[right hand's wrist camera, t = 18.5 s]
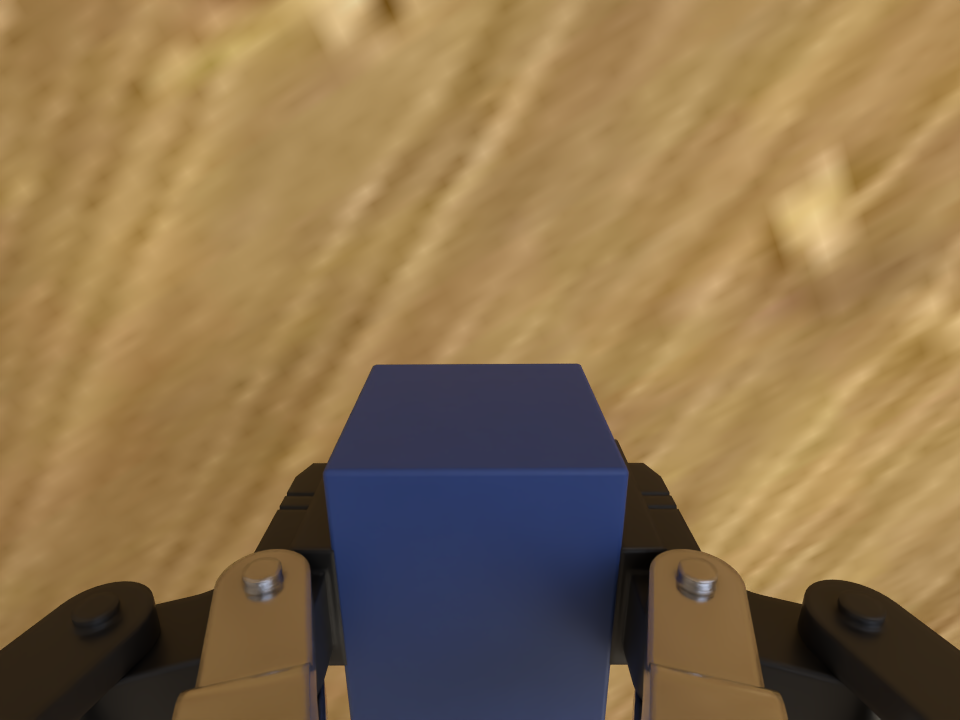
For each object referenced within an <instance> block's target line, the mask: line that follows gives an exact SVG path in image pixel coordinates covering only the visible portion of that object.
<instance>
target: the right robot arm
mask: <svg viewBox="0 0 960 720" xmlns="http://www.w3.org/2000/svg"><path fill="white" fill-rule="evenodd" d="M614 440H615V442H616V445H617V447H618V449H619V451H620V453H621V456H622V458H623V460H624V462H625V465H626V467H627V469H628V472H629V476H628V486H627V496H626V507H625V517H624V527H623V537H622V547H621V552H620V562H619V572H618V582H617V592H616V601H615V611H614V621H613V631H612V641H611V651H610V661H609V665H628V667H629V671H630V674H631V678H632V682H633V685H634V688H635V690H634V698H633V715H632V720H960V650H958V649H957V648H956V647H954V646H953V645H952V644H950V643H949V642H948V641H946V640H945V639H944V638H942V637H941V636H940V635H938V634H937V633H936V632H934V631H933V630H932V629H930V628H929V627H928V626H926V625H925V624H924V623H922V622H921V621H920V620H918V619H917V618H916V617H914V616H913V615H912V614H910V613H909V612H908V611H906V610H905V609H904V608H902V607H901V606H900V605H898V604H897V603H896V602H894V601H893V600H891V599H890V598H888V597H887V596H885V595H883V594H881V593H879V592H877V591H875V590H873V589H871V588H868V587H866V586H863V585H860V584H856V583H853V582H848V581H843V580H823V581H818V582H816V583H813V584H812V585H810V586H809V587H808V588H807V590H806V592H805V595H804V599H803V603H802V604H799V603H794V602H790V601H785V600H781V599H777V598H772V597H768V596H763V595H760V594H756V593H753V592H750V591H747V590H746V587H745V584H744V581H743V580H742V578H741V576H740V575H739V574H738V573H737V571H736V570H734V569H733V568H732V567H731V566H730V565H728V564H727V563H726V562H724V561H722V560H721V559H719V558H717V557H715V556H712V555H710V554H707V553H704V552H701V550H700V548H699V546H698V545H697V543H696V541H695V539H694V537H693V535H692V533H691V532H690V530H689V528H688V526H687V524H686V522H685V520H684V519H683V517H682V515H681V513H680V511H679V509H677V506H676V504H675V502H674V500H673V498H672V496H670V495H669V491H668V489H667V487H666V485H665V483H664V482H663V480H662V478H661V476H659V475H658V474H657V473H656V472H654V471H653V470H652V469H650V468H649V467H648V466H647V465H645V464H644V463H628V462H627V460H626V458H625V456H624V454H623V451H622V449H621V447H620V445H619V443H618V441H617V440H616V439H614ZM326 465H327V463H313V464H312V465H311V466H309V467H308V468H307V469H306V470H304V471H303V472H302V473H300V474H299V475H298V476H297V477H296V478H295V479H294V481H293V483H292V485H291V487H290V488H289V490H288V492H287V496H285V498H284V499H283V501H282V503H281V505H280V509H279V510H277V512H276V514H275V516H274V518H273V519H272V521H271V523H270V525H269V527H268V529H267V530H266V532H265V534H264V536H263V538H262V540H261V541H260V543H259V545H258V547H257V549H256V551H255V552H254V553H253V554H250V555H248V556H245V557H243V558H241V559H239V560H238V561H236V562H234V563H233V564H232V565H230V566H229V567H228V568H227V569H226V570H224V571H223V573H222V574H221V575H220V576H219V578H218V580H217V581H216V584H215V587H214V589H213V590H211V591H208V592H205V593H202V594H199V595H195V596H191V597H187V598H183V599H178V600H174V601H169V602H165V603H161V604H156V605H155V601H154V597H153V594H152V592H151V590H150V589H149V588H148V587H146V586H145V585H143V584H140V583H137V582H128V581H123V582H113V583H108V584H104V585H100V586H97V587H94V588H91V589H89V590H86V591H84V592H82V593H80V594H78V595H76V596H74V597H73V598H71V599H69V600H68V601H66V602H65V603H63V604H62V605H60V606H59V607H58V608H56V609H55V610H54V611H52V612H51V613H50V614H48V615H47V616H46V617H44V618H43V619H42V620H40V621H39V622H38V623H36V624H35V625H34V626H32V627H31V628H30V629H28V630H27V631H26V632H24V633H23V634H22V635H20V636H19V637H18V638H16V639H15V640H14V641H12V642H11V643H10V644H8V645H7V646H6V647H4V648H3V649H2V650H0V720H328V715H327V698H326V690H325V682H324V678H325V675H326V671H327V668H328V665H347V659H346V651H345V642H344V634H343V625H342V617H341V608H340V600H339V591H338V583H337V574H336V565H335V557H334V550H332V548H331V542H330V533H329V525H328V516H327V507H326V499H325V490H324V481H323V472H324V469H325V467H326Z"/></svg>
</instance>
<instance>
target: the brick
mask: <svg viewBox="0 0 960 720" xmlns="http://www.w3.org/2000/svg"><path fill="white" fill-rule="evenodd" d="M628 476H629V472H628V469H627V467H626V465H625V462H624V460H623V458H622V456H621V453H620V451H619V449H618V447H617V445H616V442H615V440H614V438H613V436H612V434H611V431H610V429H609V427H608V425H607V422H606V420H605V418H604V416H603V414H602V411H601V409H600V407H599V405H598V403H597V400H596V398H595V396H594V394H593V391H592V389H591V387H590V385H589V383H588V380H587V378H586V376H585V374H584V372H583V369H582V367H581V365H579V364H430V365H375V366H373V368H372V370H371V372H370V374H369V376H368V378H367V380H366V382H365V384H364V387H363V389H362V391H361V393H360V395H359V397H358V399H357V401H356V404H355V406H354V408H353V410H352V412H351V414H350V416H349V418H348V420H347V423H346V425H345V427H344V429H343V431H342V433H341V435H340V437H339V439H338V442H337V444H336V446H335V448H334V450H333V452H332V454H331V456H330V459H329V461H328V463H327V465H326V467H325V469H324V472H323V481H324V490H325V499H326V507H327V516H328V525H329V533H330V542H331V548H332V550H334V557H335V565H336V574H337V583H338V591H339V600H340V608H341V617H342V625H343V634H344V642H345V651H346V659H347V665H345V673H346V681H347V690H348V699H349V707H350V716H351V720H605V712H606V702H607V692H608V682H609V671H610V665H609V661H610V651H611V641H612V631H613V621H614V611H615V601H616V592H617V582H618V572H619V562H620V552H621V547H622V537H623V527H624V517H625V507H626V496H627V486H628Z"/></svg>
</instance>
